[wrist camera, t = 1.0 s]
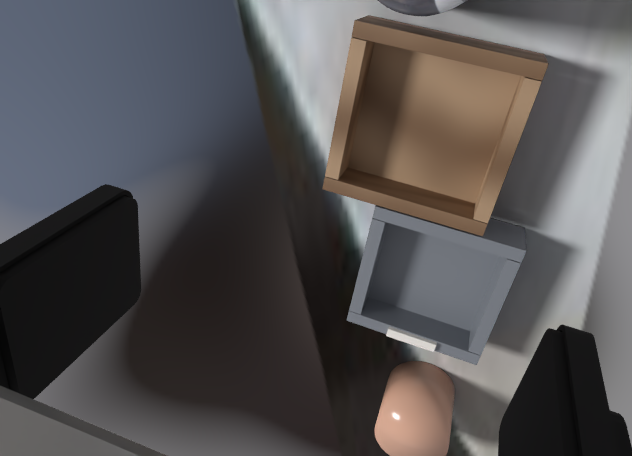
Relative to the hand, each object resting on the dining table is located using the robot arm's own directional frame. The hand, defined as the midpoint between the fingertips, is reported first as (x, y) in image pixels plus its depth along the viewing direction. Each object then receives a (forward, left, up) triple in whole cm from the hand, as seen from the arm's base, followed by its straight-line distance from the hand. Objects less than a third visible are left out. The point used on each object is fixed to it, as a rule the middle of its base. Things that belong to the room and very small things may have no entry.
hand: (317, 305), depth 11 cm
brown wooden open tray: (+1, 0, -22) cm, 22 cm away
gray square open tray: (+11, +3, -22) cm, 24 cm away
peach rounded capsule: (+21, +5, -22) cm, 31 cm away
